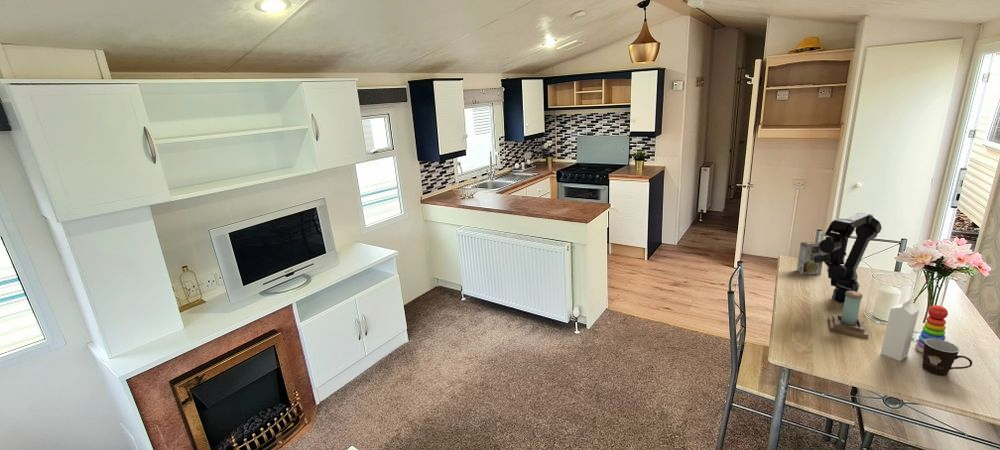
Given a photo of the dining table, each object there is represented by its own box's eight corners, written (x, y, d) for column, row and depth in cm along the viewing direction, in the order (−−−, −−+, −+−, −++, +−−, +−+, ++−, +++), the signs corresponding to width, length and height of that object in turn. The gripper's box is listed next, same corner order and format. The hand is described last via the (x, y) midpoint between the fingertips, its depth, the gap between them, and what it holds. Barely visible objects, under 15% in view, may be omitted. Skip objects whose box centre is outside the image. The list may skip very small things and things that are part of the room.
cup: (849, 321, 183) (856, 290, 179) (859, 327, 178) (866, 296, 174) (836, 321, 184) (842, 291, 180) (846, 328, 178) (852, 296, 175)
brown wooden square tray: (828, 318, 189) (829, 311, 188) (863, 324, 183) (865, 318, 182) (830, 331, 180) (831, 324, 179) (868, 338, 173) (869, 331, 173)
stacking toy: (931, 345, 167) (943, 301, 161) (950, 358, 159) (963, 311, 154) (909, 345, 168) (920, 301, 162) (926, 357, 160) (938, 311, 155)
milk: (907, 356, 162) (922, 302, 155) (900, 361, 159) (914, 307, 152) (887, 348, 167) (900, 296, 160) (879, 353, 164) (892, 300, 157)
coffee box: (814, 270, 236) (819, 241, 232) (821, 274, 230) (826, 246, 226) (795, 270, 238) (800, 242, 233) (802, 274, 232) (806, 246, 227)
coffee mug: (911, 364, 157) (917, 339, 154) (933, 361, 158) (940, 337, 155) (945, 384, 146) (952, 358, 143) (969, 382, 147) (977, 356, 144)
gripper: (813, 239, 201) (807, 271, 205) (817, 252, 185) (810, 286, 190) (843, 243, 195) (836, 275, 200) (850, 256, 180) (842, 291, 184)
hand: (831, 281), depth 193 cm, fingers open, 9 cm apart
